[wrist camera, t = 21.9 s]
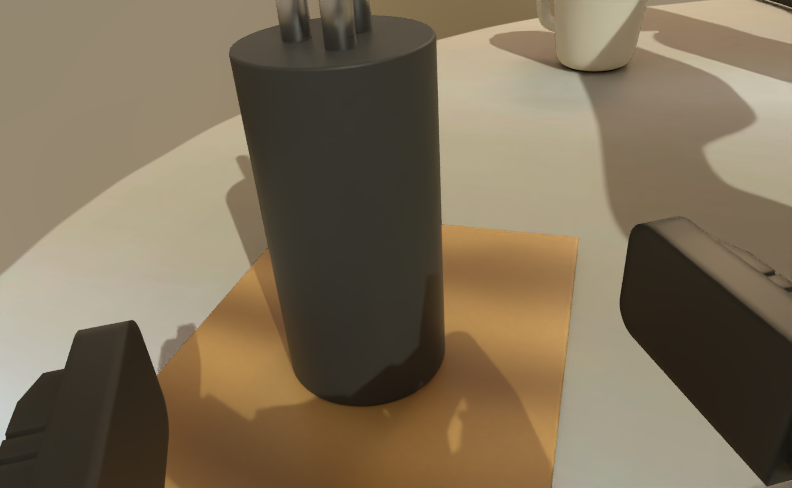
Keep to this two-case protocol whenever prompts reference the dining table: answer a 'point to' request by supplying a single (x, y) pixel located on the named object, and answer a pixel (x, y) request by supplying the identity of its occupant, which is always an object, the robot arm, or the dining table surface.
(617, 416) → the dining table surface
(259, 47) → the cutlery holder
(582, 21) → the cup
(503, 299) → the wooden board
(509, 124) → the dining table surface
